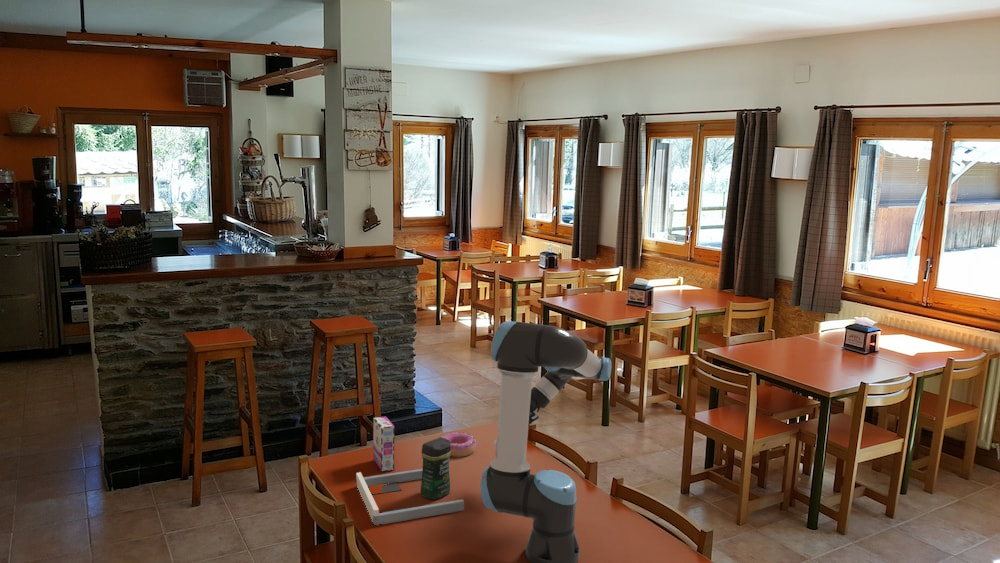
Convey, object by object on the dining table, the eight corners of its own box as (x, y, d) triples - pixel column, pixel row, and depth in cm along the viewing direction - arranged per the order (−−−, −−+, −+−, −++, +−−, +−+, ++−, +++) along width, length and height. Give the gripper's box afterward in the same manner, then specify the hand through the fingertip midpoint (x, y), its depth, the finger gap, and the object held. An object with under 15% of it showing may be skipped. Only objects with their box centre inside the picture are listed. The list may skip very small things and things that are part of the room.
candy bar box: (395, 470, 255) (395, 426, 252) (381, 472, 252) (381, 428, 250) (386, 458, 265) (386, 415, 262) (372, 460, 262) (372, 417, 260)
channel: (463, 510, 228) (464, 495, 227) (374, 525, 217) (373, 510, 216) (438, 474, 252) (438, 461, 251) (356, 486, 242) (356, 472, 241)
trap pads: (416, 516, 223) (416, 515, 223) (384, 521, 220) (384, 520, 220) (397, 482, 245) (397, 482, 245) (367, 487, 241) (367, 486, 241)
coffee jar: (434, 503, 232) (435, 448, 229) (416, 495, 237) (417, 441, 233) (454, 492, 239) (455, 439, 236) (437, 485, 244) (437, 433, 241)
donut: (447, 461, 263) (448, 448, 263) (432, 447, 276) (432, 434, 275) (482, 454, 270) (483, 441, 269) (466, 440, 283) (466, 428, 282)
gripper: (558, 406, 242) (510, 459, 239) (541, 393, 254) (496, 444, 251) (544, 392, 239) (496, 446, 236) (528, 380, 251) (482, 432, 248)
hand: (496, 445), depth 244 cm, fingers closed
